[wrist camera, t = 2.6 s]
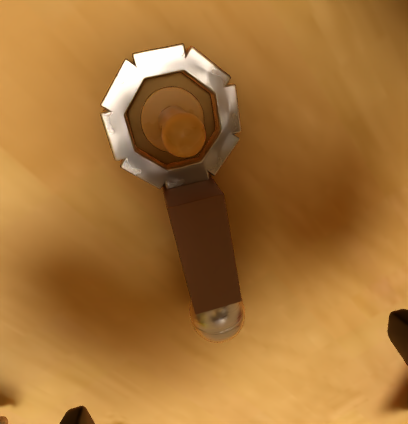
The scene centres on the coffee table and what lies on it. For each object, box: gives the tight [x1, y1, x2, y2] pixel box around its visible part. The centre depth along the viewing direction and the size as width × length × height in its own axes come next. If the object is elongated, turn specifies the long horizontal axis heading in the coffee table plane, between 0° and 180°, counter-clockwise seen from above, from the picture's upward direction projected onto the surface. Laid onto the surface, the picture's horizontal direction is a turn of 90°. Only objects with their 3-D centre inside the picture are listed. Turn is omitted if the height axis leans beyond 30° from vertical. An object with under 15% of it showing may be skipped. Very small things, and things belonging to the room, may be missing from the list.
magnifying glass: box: [100, 43, 245, 343], centre depth 13 cm, size 14×5×3 cm, turn 11°
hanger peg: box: [141, 87, 206, 158], centre depth 11 cm, size 3×3×4 cm
